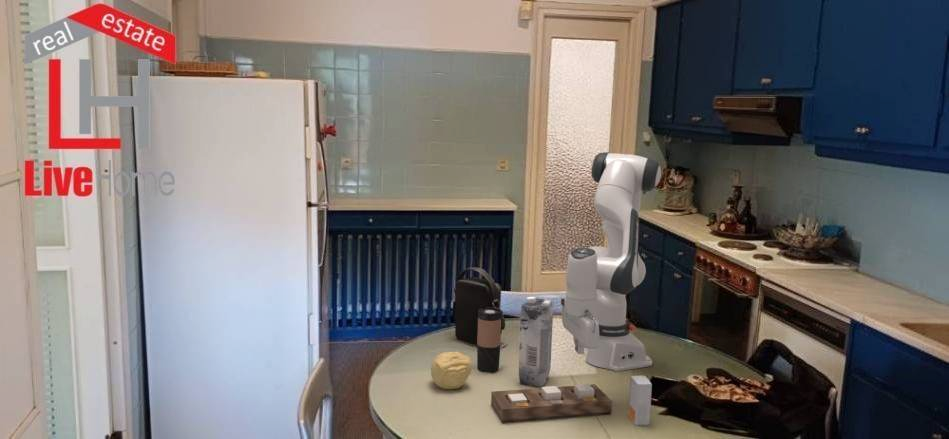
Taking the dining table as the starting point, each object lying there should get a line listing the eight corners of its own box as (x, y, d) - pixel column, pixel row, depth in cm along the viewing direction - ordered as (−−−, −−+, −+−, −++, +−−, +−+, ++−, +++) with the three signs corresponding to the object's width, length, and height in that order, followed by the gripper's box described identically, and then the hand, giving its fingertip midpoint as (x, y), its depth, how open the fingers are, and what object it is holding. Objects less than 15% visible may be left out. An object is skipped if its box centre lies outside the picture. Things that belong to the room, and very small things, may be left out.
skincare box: (627, 415, 192) (630, 375, 190) (642, 415, 192) (645, 375, 190) (634, 425, 186) (637, 384, 184) (649, 425, 186) (652, 383, 184)
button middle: (555, 395, 197) (556, 386, 196) (560, 402, 192) (561, 392, 192) (541, 396, 196) (541, 387, 195) (546, 403, 191) (546, 393, 191)
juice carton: (551, 376, 219) (555, 295, 214) (544, 389, 209) (547, 303, 205) (524, 372, 222) (527, 292, 217) (516, 384, 212) (519, 300, 207)
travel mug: (497, 374, 219) (499, 314, 216) (474, 372, 221) (475, 312, 218) (501, 365, 227) (503, 308, 224) (478, 363, 228) (480, 306, 225)
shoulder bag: (443, 337, 254) (445, 264, 249) (459, 331, 261) (461, 260, 256) (492, 352, 240) (494, 274, 235) (507, 345, 247) (509, 270, 242)
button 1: (522, 403, 195) (522, 393, 194) (526, 409, 190) (527, 399, 190) (507, 404, 194) (507, 394, 193) (511, 411, 189) (512, 400, 189)
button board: (594, 396, 204) (595, 383, 203) (611, 414, 192) (612, 399, 192) (491, 404, 197) (491, 390, 196) (502, 423, 185) (502, 408, 184)
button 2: (587, 393, 199) (588, 383, 199) (593, 399, 195) (594, 389, 194) (573, 394, 198) (574, 384, 198) (579, 400, 194) (579, 390, 193)
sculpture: (441, 395, 202) (441, 361, 200) (425, 381, 213) (425, 348, 211) (475, 389, 207) (476, 355, 206) (457, 375, 218) (458, 343, 216)
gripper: (606, 316, 183) (604, 365, 185) (578, 295, 202) (577, 339, 205) (584, 318, 181) (582, 367, 184) (558, 296, 201) (557, 341, 203)
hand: (579, 352), depth 194 cm, fingers closed
